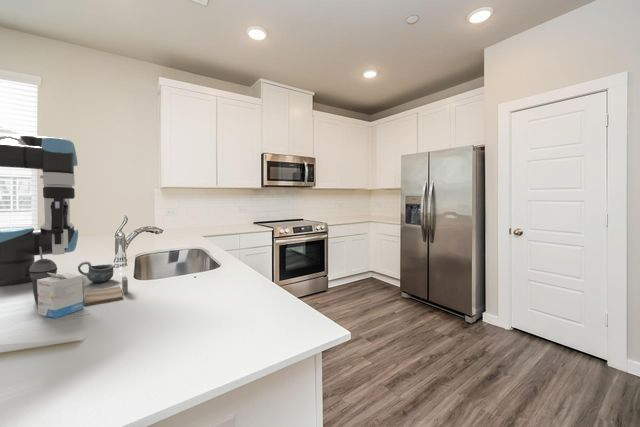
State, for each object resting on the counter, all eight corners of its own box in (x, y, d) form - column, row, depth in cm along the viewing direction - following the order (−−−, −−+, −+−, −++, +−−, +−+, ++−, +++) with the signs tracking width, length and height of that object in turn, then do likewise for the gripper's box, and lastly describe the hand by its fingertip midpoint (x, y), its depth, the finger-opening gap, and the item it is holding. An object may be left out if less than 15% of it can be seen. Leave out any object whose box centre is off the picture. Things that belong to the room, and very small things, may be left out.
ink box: (84, 309, 94) (83, 270, 93) (54, 319, 86) (52, 276, 85) (68, 305, 97) (67, 267, 96) (37, 314, 89) (35, 273, 88)
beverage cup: (40, 306, 95) (38, 249, 94) (24, 304, 97) (22, 248, 96) (63, 299, 102) (62, 245, 101) (48, 297, 104) (46, 244, 103)
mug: (118, 281, 125) (117, 259, 125) (83, 288, 115) (83, 264, 114) (109, 277, 130) (108, 256, 130) (75, 284, 120) (74, 261, 119)
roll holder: (79, 294, 107) (78, 279, 107) (125, 287, 116) (125, 273, 116) (77, 307, 96) (76, 290, 95) (128, 298, 105) (128, 282, 105)
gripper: (48, 187, 97) (50, 246, 98) (36, 184, 78) (38, 259, 79) (76, 188, 102) (78, 245, 103) (71, 185, 83) (73, 256, 84)
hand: (60, 251), depth 91 cm, fingers open, 13 cm apart
